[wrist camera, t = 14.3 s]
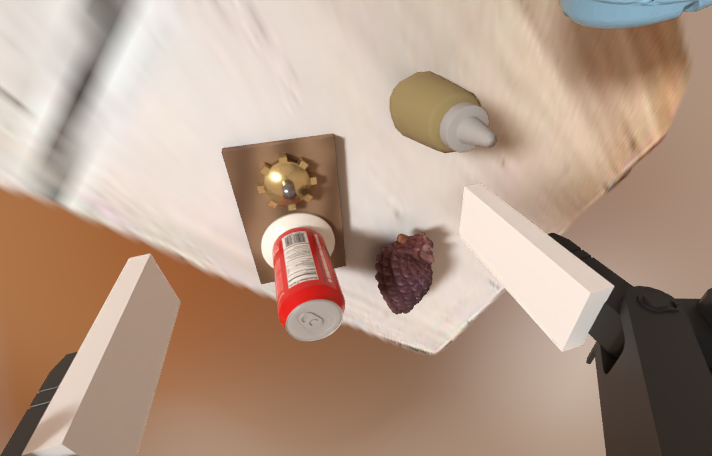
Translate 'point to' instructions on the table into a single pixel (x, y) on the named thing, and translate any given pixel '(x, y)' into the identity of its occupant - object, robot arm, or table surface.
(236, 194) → the gear board
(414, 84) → the squeeze bottle
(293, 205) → the brass gear
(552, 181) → the table surface
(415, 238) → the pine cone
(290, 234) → the soda can
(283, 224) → the ceramic plate
